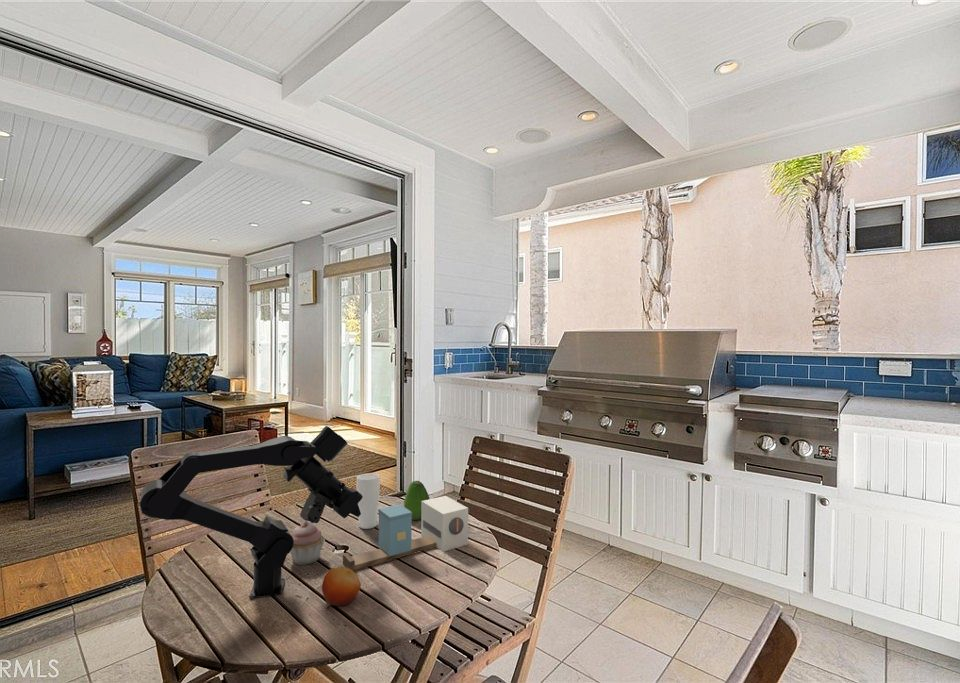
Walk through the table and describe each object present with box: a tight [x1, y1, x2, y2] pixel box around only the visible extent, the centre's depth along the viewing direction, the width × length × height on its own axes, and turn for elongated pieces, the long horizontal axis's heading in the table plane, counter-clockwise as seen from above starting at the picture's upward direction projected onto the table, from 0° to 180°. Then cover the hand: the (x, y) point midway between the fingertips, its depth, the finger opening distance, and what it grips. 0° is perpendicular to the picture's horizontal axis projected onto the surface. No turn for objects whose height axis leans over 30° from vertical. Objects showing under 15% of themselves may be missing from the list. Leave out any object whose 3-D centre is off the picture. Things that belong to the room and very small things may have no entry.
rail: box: [342, 536, 437, 571], centre depth 124 cm, size 24×5×2 cm, turn 125°
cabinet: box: [420, 495, 469, 553], centre depth 133 cm, size 8×13×10 cm, turn 35°
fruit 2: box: [403, 480, 431, 521], centre depth 149 cm, size 8×8×12 cm
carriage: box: [377, 503, 412, 556], centre depth 125 cm, size 6×7×10 cm
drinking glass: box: [355, 472, 381, 530], centre depth 143 cm, size 7×7×15 cm
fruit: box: [321, 566, 362, 610], centre depth 102 cm, size 8×8×8 cm
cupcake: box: [289, 520, 326, 566], centre depth 121 cm, size 9×9×10 cm
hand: (359, 515), depth 119 cm, fingers closed
